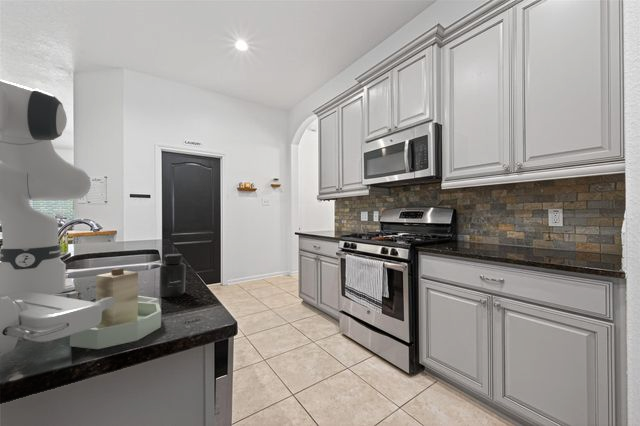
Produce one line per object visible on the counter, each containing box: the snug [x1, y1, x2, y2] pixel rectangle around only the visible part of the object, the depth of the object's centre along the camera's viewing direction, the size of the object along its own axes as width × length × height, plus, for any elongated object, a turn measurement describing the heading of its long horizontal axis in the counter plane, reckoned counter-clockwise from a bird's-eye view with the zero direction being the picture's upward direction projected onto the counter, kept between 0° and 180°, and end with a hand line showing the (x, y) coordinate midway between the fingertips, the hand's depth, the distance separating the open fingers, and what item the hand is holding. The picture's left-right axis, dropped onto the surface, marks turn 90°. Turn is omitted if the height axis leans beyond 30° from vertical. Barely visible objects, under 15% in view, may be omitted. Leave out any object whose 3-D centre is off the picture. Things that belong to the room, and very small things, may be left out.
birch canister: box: [95, 267, 139, 328], centre depth 55 cm, size 5×5×12 cm
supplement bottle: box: [158, 253, 186, 299], centre depth 79 cm, size 7×7×12 cm
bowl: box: [69, 302, 162, 350], centre depth 55 cm, size 14×14×4 cm
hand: (95, 298), depth 51 cm, fingers open, 8 cm apart
